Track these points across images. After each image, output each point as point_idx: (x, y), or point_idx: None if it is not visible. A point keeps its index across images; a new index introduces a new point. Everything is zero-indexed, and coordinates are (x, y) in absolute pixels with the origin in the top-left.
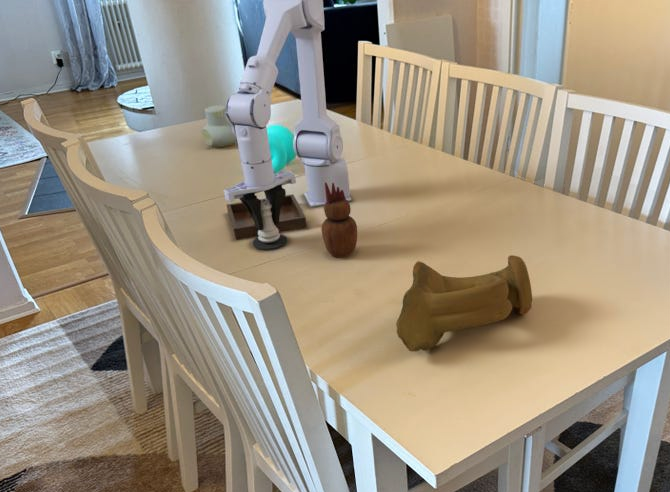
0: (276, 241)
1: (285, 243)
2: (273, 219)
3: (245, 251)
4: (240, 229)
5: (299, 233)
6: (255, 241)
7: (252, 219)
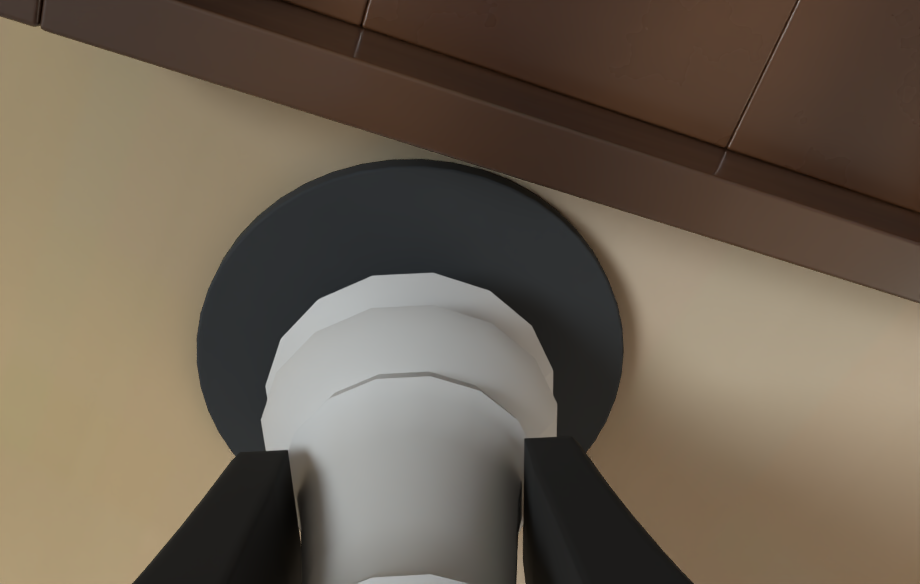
0: None
1: None
2: (533, 564)
3: (73, 375)
4: (95, 40)
5: (808, 347)
6: (255, 276)
7: (180, 529)
